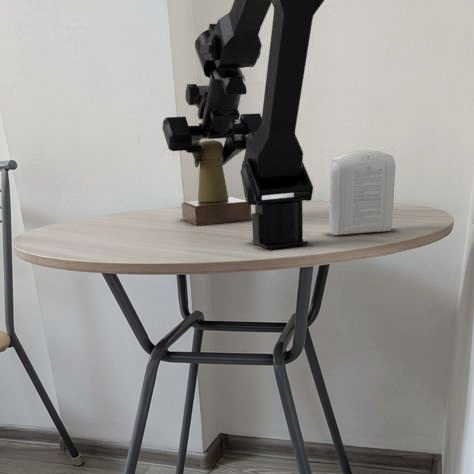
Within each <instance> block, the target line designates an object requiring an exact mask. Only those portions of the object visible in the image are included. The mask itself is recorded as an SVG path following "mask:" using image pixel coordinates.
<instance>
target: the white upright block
mask: <svg viewBox="0 0 474 474" xmlns="http://www.w3.org/2000/svg"><path fill="white" fill-rule="evenodd" d="M329 173H330V174H329V175H330V177H329V179H330V180H329V181H330V182H329V233H330V235H334V236H341V235H354V234H355V235H356V234H368V233H381V232H382V233H383V232H390V231H391V230H392V229H393V218H394V203H395V201H394V200H395V184H396V160H395V158H394V156H393V155H392V154H389V153H386V152H382V151H377V150H356V151H350V152H347V153H344V154H341V155H338V156H336V157H334V158H333V159H332V161H331V164H330V172H329Z"/></svg>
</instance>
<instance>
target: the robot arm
mask: <svg viewBox="0 0 474 474" xmlns="http://www.w3.org/2000/svg"><path fill="white" fill-rule="evenodd" d="M324 2H325V0H233V3H232V5H231V8H230V9H229V12H227V13H226V14H225V15H223V16H222V17H220V18H219V19H218V20H217V22H216V23H209V24H208V29H206V30H204V31H203V32H201V33H200V34H199V35H198V36H197V38H196V40H195V42H194V49H195V53H196V55H197V57H198V61H199V63H200V66H201V68H202V71H203V75H204V76H205V77H206V78H209V82H208V85H207V84H206V85H197V83H186V87H185V101H186V103H187V104H188V106H195V107H196V108H197V109H198V110H197V117H198V120H201V122H199V123H198V124H197V125H189V123H188V120H187V117H186V116H167V117H165V118H164V119H163V121H162V132H163V135H164V138H165V142H166V144H167V145H166V146H167V148H168V150H170V151H171V152H182V151H183V152H184V151H185V152H186V153H188V154H191V156H192V159H193V164H194V167H195V168H198V167H200V159H201V155H202V148H201V145H200V142H201V140H216V139H225V140H224V144H223V148H224V152H223V156H222V158H221V160H222V166H223V167H224V166H225V165H226V164H227V163H228V162H229V161H231V160H232V159H234V158H235V157H236V156H237V155H239V154H240V153H241V152H243V151H244V150H245V151H244V155H243V161H242V163H241V169H240V176H241V181H242V187H243V193H244V198H245V201H246V202H247V205H251V206H254V212H252V213H251V219H252V220H251V222H252V223H251V225H252V240H251V242H252V243H253V244H255V245H257V246H259V247H262V248H264V249H267V250H272V249H279V248H289V247H296V246H305V245H306V246H307V245H308V243H309V241H308V240H306V239H304V236H303V235H304V234H303V233H304V229H303V227H304V226H303V225H304V224H303V223H304V222H303V217H304V216H303V215H304V213H303V201H306V202H310V201H311V202H312V198H313V192H314V185H313V183H312V181H311V178H310V175H309V174H308V171H307V169H306V166H305V164H304V162H303V160H304V152H303V149H302V146H301V144H300V142H299V140H298V137H297V135H296V130H297V129H296V128H297V123H298V122H297V121H298V115H299V109H300V104H301V97H302V96H301V95H302V91H303V90H302V89H303V83H304V78H305V71H306V65H307V59H308V51H309V45H310V39H311V32H312V27H313V26H312V25H313V20H314V16H315V14H316V13H317V11H318V10H319V8H320V7H321V6H322V5H323V3H324ZM271 5H272V7H273V16H272V24H271V36H270V41H269V42H270V43H269V51H268V58H267V59H268V61H267V68H266V69H267V70H266V78H265V87H264V94H263V95H264V96H263V104H262V112H261V113H257V112H256V113H241V114H240V111H239V106H240V103H241V98H242V95H247V92H248V91H247V86H246V83H245V82H246V75H245V72H244V71H243V70H242V69H251V68H254V67H255V66H256V64H257V62H258V60H259V59H260V57H261V52H262V48H263V47H262V46H263V45H262V40H261V36H260V31H261V28H262V26H263V24H264V22H265V19H266V18H267V15H268V12H269V10H270V8H271Z"/></svg>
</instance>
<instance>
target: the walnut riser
mask: <svg viewBox="0 0 474 474" xmlns="http://www.w3.org/2000/svg"><path fill="white" fill-rule="evenodd" d="M181 211H182V213H181V214H182V220H184V221H186V222H188V223H190V224H192V225H195V226H206V225H216V224H217V225H218V224H227V223H237V222H245V221H246V222H247V221H252V205H247V202H246V199H241V198H237V197H233V196H228V200H225V201H215V202H199V201H198V199H196V200H183V202H181Z"/></svg>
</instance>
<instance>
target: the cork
mask: <svg viewBox="0 0 474 474" xmlns="http://www.w3.org/2000/svg"><path fill="white" fill-rule="evenodd" d="M200 145H201V148H202V155H201V159H200V163H199V170H198V171H199V173H198V194H197V200H198V201H199V202H215V201H225V200H228V198H229V194H228V189H227V183H226V178H225V173H224V166H222V160H221V158H222V156H223V152H224V148H223V147H224V144H223V143H222V142H221V141H220V140H216V139H209V140H203V141H200Z"/></svg>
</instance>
